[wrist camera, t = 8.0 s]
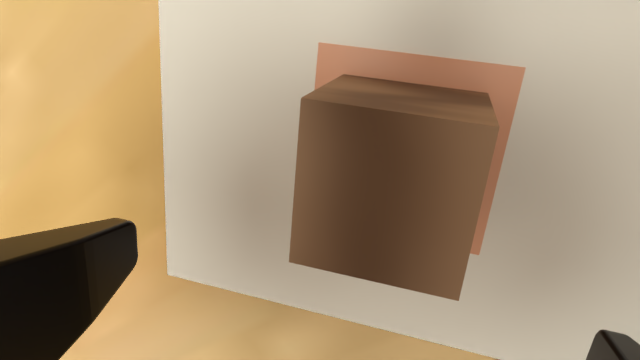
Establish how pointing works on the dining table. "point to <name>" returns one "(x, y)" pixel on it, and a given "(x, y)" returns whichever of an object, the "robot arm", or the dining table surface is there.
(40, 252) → the robot arm
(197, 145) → the blueprint board
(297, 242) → the walnut cube
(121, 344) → the dining table surface
